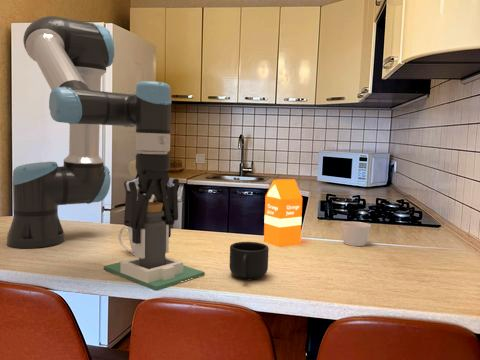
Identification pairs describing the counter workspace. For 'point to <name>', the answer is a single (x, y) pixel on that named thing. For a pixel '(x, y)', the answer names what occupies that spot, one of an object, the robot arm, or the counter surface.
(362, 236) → the candle
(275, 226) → the orange juice
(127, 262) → the board
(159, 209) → the bottle
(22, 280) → the counter surface
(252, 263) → the mug
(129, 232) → the cup
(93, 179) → the robot arm
